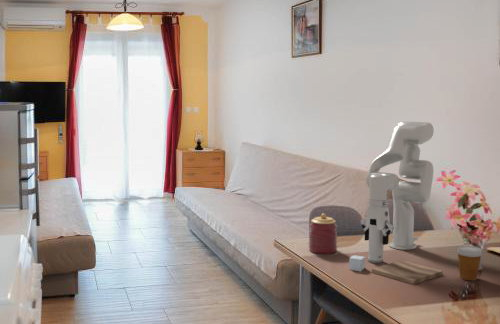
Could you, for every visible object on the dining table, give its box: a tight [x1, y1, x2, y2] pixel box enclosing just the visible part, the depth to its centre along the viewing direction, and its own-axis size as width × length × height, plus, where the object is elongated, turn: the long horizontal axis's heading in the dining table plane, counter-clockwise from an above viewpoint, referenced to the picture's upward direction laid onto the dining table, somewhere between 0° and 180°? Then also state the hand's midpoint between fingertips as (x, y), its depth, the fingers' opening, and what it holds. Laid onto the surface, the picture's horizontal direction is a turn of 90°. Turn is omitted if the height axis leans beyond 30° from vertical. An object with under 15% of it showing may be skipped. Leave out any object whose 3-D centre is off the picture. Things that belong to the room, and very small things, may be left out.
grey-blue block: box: [348, 255, 366, 272], centre depth 248 cm, size 5×5×5 cm
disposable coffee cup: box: [456, 245, 483, 281], centre depth 236 cm, size 10×10×12 cm
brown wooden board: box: [371, 259, 444, 285], centre depth 242 cm, size 20×20×2 cm
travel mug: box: [367, 219, 384, 264], centre depth 258 cm, size 6×7×20 cm
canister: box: [308, 213, 338, 255], centre depth 276 cm, size 13×13×18 cm
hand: (376, 242), depth 258 cm, fingers open, 9 cm apart
